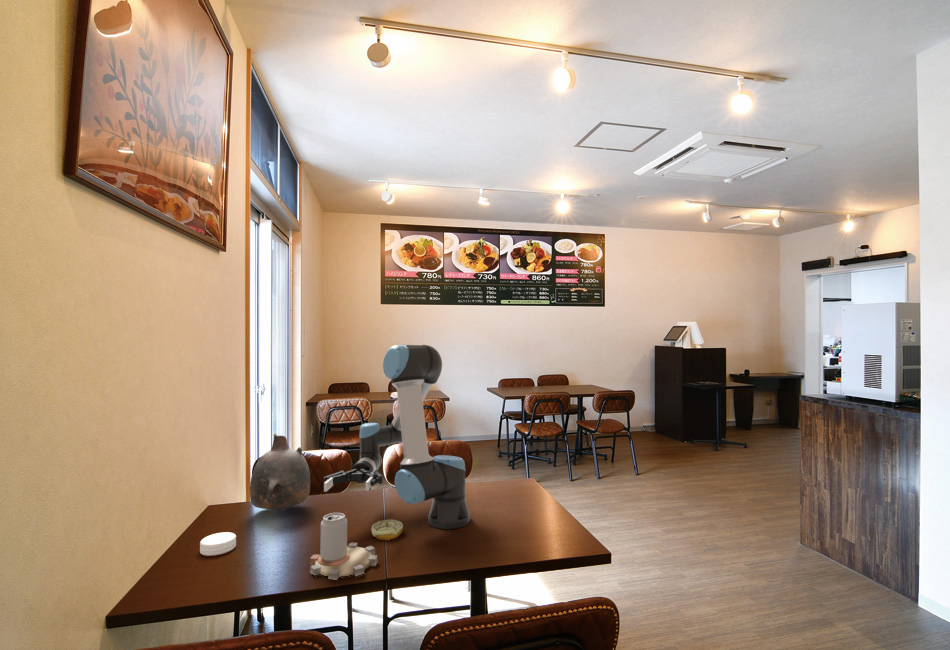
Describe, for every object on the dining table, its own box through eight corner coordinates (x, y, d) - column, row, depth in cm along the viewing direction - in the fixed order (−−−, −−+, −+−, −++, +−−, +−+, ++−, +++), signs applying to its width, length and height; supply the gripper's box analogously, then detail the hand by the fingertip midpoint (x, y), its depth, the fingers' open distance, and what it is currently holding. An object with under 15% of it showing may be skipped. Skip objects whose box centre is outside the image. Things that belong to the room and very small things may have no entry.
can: (323, 552, 137) (324, 511, 137) (349, 551, 138) (349, 510, 138) (317, 564, 129) (317, 521, 130) (344, 562, 130) (344, 520, 131)
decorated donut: (368, 542, 148) (368, 530, 148) (373, 529, 159) (373, 518, 159) (401, 541, 149) (401, 529, 149) (403, 528, 160) (403, 517, 160)
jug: (317, 515, 171) (318, 434, 173) (255, 528, 159) (256, 441, 161) (301, 497, 192) (302, 425, 193) (244, 508, 179) (246, 431, 181)
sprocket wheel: (384, 549, 143) (384, 542, 143) (367, 581, 123) (367, 573, 123) (323, 548, 143) (323, 542, 143) (297, 580, 124) (297, 572, 124)
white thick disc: (202, 545, 146) (202, 534, 146) (237, 540, 150) (237, 529, 150) (197, 559, 137) (197, 547, 137) (234, 553, 141) (234, 541, 141)
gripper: (396, 479, 169) (384, 497, 147) (329, 481, 169) (307, 499, 148) (396, 459, 169) (383, 474, 148) (329, 460, 170) (307, 475, 148)
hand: (345, 486), depth 148 cm, fingers open, 13 cm apart
